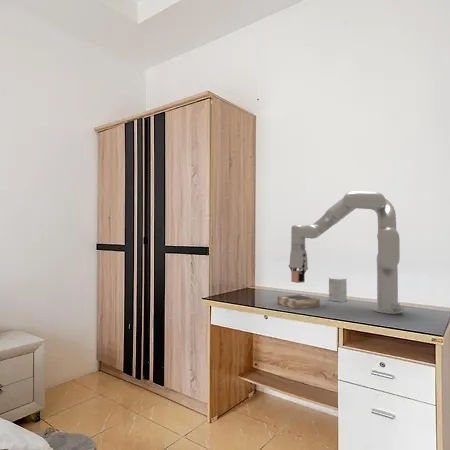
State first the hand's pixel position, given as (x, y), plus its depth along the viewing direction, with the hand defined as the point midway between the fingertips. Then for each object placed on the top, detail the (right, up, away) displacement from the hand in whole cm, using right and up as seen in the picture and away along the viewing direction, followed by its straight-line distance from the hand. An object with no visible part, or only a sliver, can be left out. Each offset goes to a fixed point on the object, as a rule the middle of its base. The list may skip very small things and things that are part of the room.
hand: (297, 280), depth 198 cm
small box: (+26, -14, +13) cm, 32 cm away
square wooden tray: (0, -14, 0) cm, 14 cm away
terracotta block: (0, -1, 0) cm, 1 cm away
